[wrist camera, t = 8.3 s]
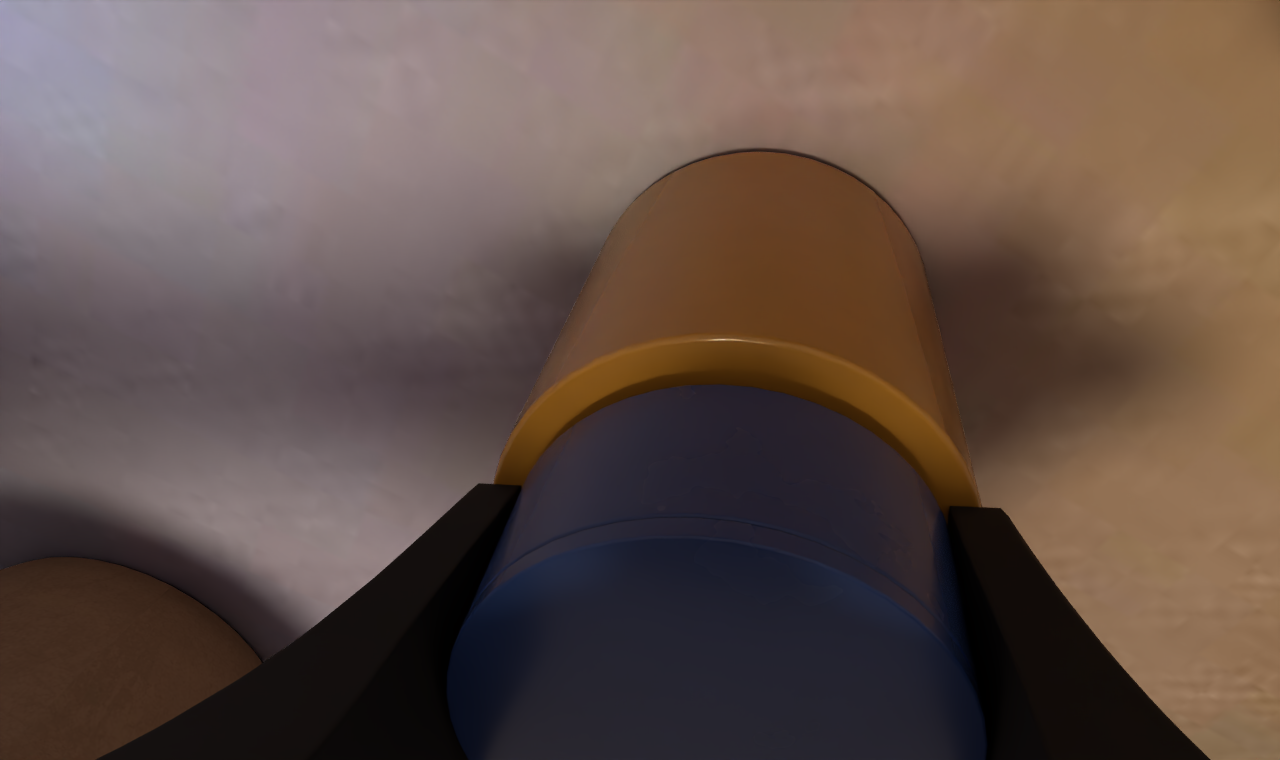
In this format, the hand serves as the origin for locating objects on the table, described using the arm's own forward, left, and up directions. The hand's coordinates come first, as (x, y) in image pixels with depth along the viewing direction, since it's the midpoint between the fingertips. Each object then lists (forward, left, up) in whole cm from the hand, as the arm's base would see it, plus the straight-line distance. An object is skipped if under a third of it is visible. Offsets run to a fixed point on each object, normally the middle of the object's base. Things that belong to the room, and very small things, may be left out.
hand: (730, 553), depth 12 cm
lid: (0, 0, 0) cm, 0 cm away
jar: (0, 0, -7) cm, 7 cm away
